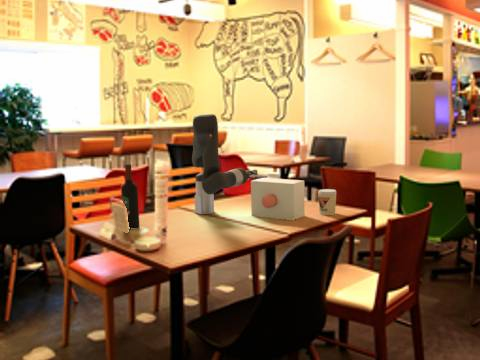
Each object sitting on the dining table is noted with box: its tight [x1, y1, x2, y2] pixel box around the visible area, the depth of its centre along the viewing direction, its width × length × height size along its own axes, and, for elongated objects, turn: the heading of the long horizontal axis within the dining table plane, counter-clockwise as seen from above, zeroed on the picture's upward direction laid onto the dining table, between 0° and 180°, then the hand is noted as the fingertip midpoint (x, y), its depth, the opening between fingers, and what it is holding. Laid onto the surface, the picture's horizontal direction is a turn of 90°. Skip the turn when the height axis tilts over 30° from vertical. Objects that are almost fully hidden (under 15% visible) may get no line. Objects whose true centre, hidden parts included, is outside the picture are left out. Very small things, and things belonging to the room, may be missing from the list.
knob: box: [262, 194, 277, 208], centre depth 276 cm, size 10×6×6 cm, turn 146°
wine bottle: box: [120, 163, 140, 230], centre depth 261 cm, size 8×8×30 cm
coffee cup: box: [317, 188, 337, 216], centre depth 283 cm, size 9×9×12 cm
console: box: [250, 177, 306, 221], centre depth 280 cm, size 12×24×18 cm, turn 56°
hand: (255, 172), depth 261 cm, fingers closed
